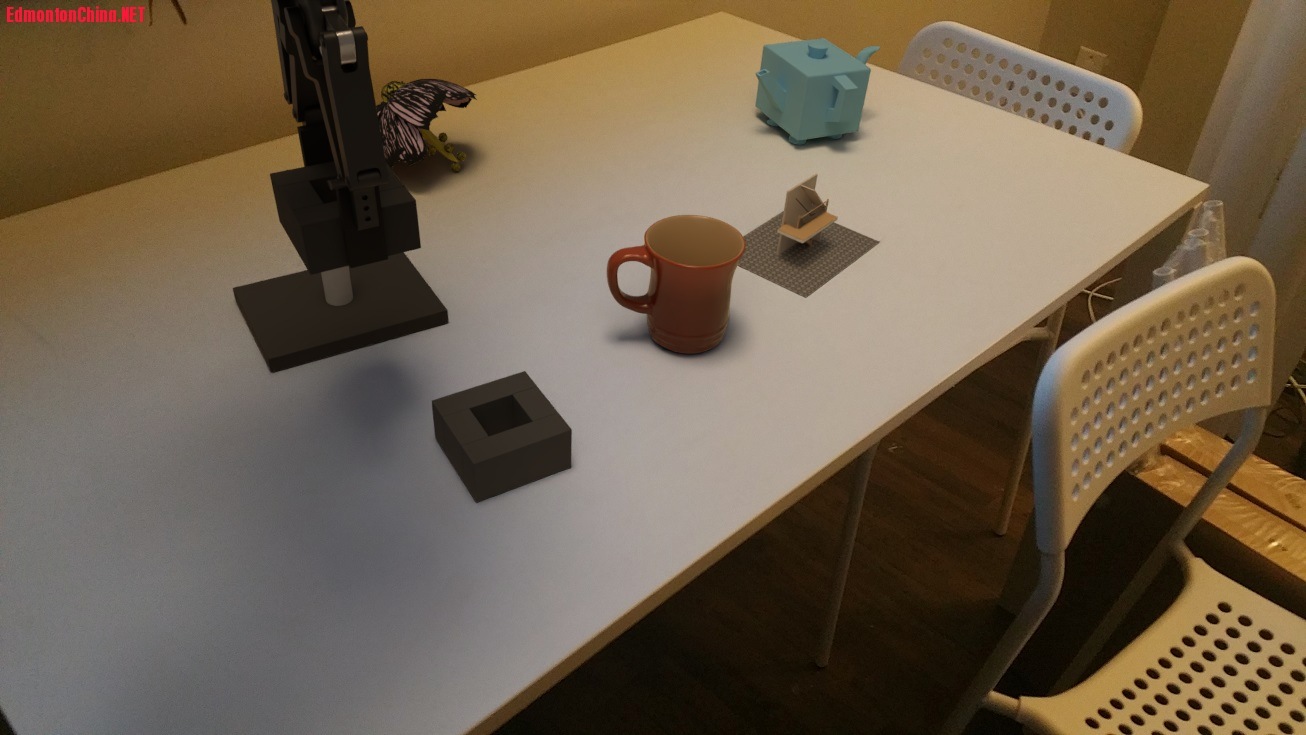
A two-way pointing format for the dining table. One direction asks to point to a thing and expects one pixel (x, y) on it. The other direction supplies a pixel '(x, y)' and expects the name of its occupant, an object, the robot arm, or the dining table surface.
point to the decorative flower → (417, 119)
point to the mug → (683, 280)
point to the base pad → (337, 310)
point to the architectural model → (803, 243)
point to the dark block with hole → (337, 215)
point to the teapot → (813, 88)
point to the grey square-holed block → (501, 435)
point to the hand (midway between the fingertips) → (348, 231)
